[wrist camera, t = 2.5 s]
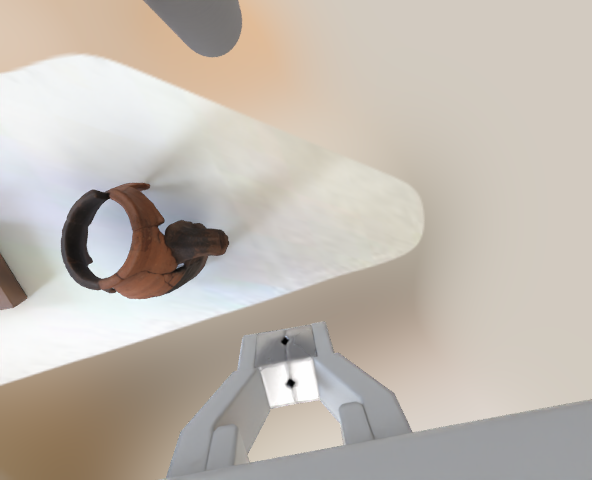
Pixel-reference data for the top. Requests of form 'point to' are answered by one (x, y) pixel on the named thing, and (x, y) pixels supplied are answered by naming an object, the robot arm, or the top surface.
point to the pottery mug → (139, 246)
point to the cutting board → (9, 288)
